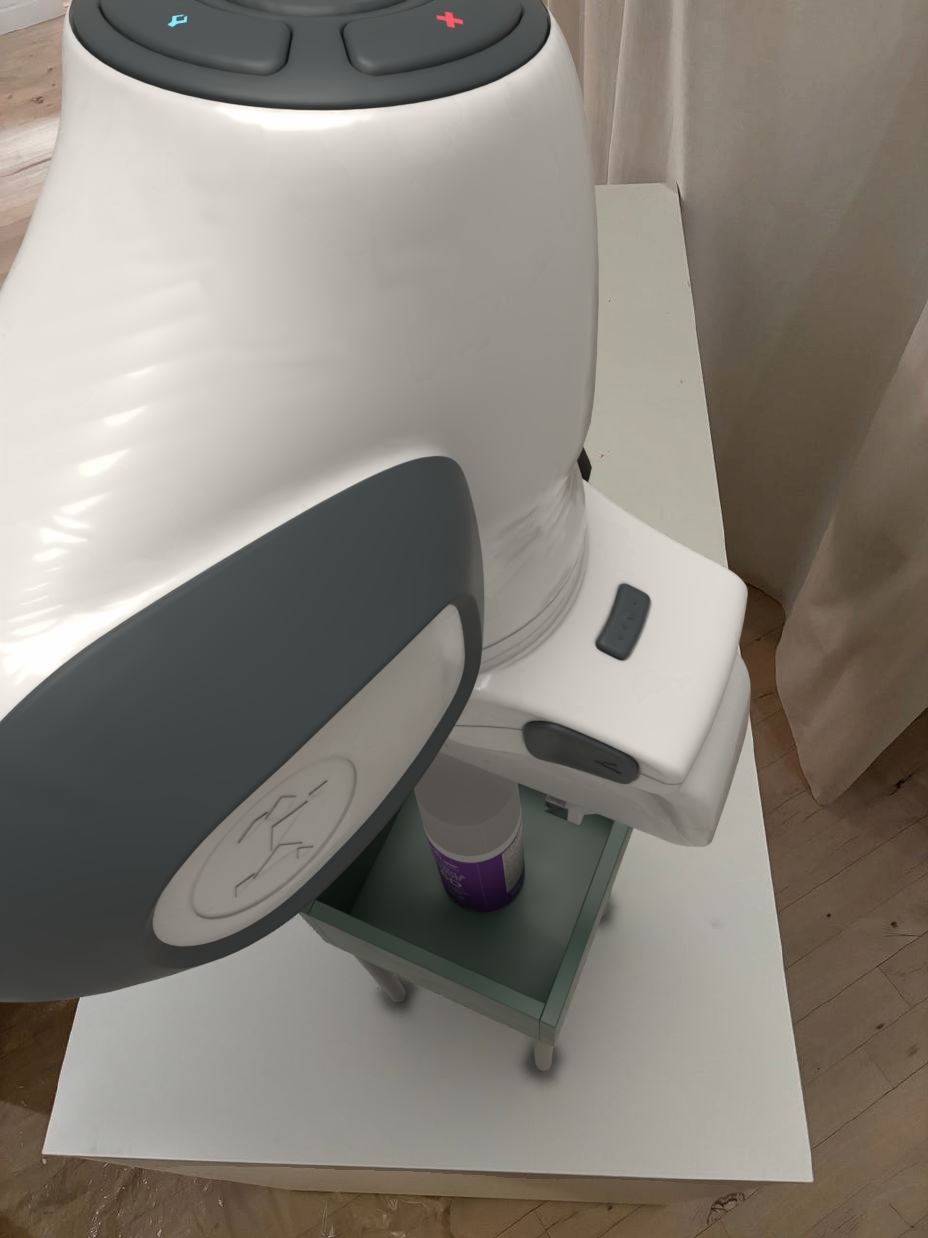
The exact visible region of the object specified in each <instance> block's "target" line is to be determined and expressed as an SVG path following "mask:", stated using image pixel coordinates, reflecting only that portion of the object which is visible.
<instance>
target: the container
mask: <svg viewBox="0 0 928 1238" xmlns="http://www.w3.org/2000/svg"><path fill="white" fill-rule="evenodd" d="M414 791H415V795H416V799H417V803H418V807H419V811H420V814H421V818H422V822H423V827H424V830H425V833H426V836H427V839H428V842H429V845H430V847H431V850H432V853H433V856H434V859H435V862H436V865H437V868H438V870H439V873H440V876H441V879H442V882H443V885H444V887H445V889H446V892H447V894H448V895H449V897H450V898H451V899H452V901H453V902H454V903H455V904H456V905H458V906H459V907H460V908H462V909H464V910H465V911H468V912H470V913H474V914H492V913H496V912H499V911H501V910H503V909H505V908H506V907H508V906H509V905H510V904H511V903H512V902H513V901H514V900H515V899H516V898H517V896H518V895H519V893H520V891H521V889H522V886H523V883H524V878H525V862H524V845H523V827H522V810H521V803H520V796H519V789H518V783H517V782H515V781H512V780H509V779H507V778H504V777H502V776H499V775H497V774H494V773H491V772H489V771H486V770H484V769H481V768H479V767H476V766H474V765H471V764H468V763H466V762H463V761H461V760H458V759H456V758H453V757H450V756H448V755H445V754H443V753H440V752H438V754H437V756H436V757H435V759H434V760H433V762H432V763H431V765H430V766H429V768H428V769H427V771H426V772H425V774H424V775H423V777H422V778H421V780H420V781H419V782H418V784H417V785H416V786H415V788H414Z"/></svg>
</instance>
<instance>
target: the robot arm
mask: <svg viewBox="0 0 928 1238" xmlns="http://www.w3.org/2000/svg"><path fill="white" fill-rule="evenodd" d="M62 25H63V26H62V33H61V65H62V69H61V103H60V117H59V121H58V128H57V134H56V138H55V144H54V147H53V152H52V155H51V158H50V162H49V164H48V168H47V171H46V173H45V176H44V180H43V183H42V185H41V189H40V191H39V195H38V197H37V200H36V203H35V206H34V209H33V211H32V214H31V217H30V220H29V224H28V226H27V229H26V231H25V234H24V237H23V239H22V242H21V244H20V247H19V250H18V252H17V254H16V256H15V258H14V261H13V262H12V265H11V267H10V269H9V271H8V273H7V275H6V277H5V279H4V281H3V283H2V285H1V287H0V1003H20V1004H21V1003H22V1004H23V1003H24V1004H25V1003H26V1004H27V1003H28V1004H30V1003H43V1002H56V1001H67V1000H75V999H79V998H85V997H91V996H97V995H102V994H106V993H107V994H108V993H112V992H115V991H119V990H123V989H127V988H130V987H131V988H132V987H135V986H138V985H142V984H146V983H150V982H153V981H158V980H160V979H165V978H167V977H171V976H174V975H177V974H180V973H183V972H185V971H189V970H192V969H194V968H198V967H202V966H203V965H204V966H205V965H206V964H209V963H213V962H215V961H218V960H221V959H224V958H226V957H228V956H231V955H233V954H235V953H237V952H238V953H239V952H240V951H241V950H244V949H246V948H248V947H250V946H252V945H254V944H256V943H257V942H259V941H261V940H262V939H264V938H266V937H267V936H269V935H270V934H272V933H274V932H275V931H276V930H278V929H280V928H282V926H284V925H285V924H287V923H288V922H290V921H291V920H292V919H293V918H295V917H296V916H297V915H298V914H299V913H300V912H301V911H302V910H303V909H304V908H305V907H307V906H308V905H309V904H310V903H311V902H312V901H313V900H315V899H316V898H317V897H318V896H319V895H320V894H321V893H322V892H323V891H324V890H325V889H326V888H327V887H328V886H329V885H330V884H332V883H333V882H334V881H335V880H336V879H337V878H338V876H339V875H340V874H341V873H342V872H343V871H344V870H345V869H346V868H347V867H348V866H349V865H350V864H351V863H352V862H353V861H354V860H355V859H356V858H357V857H358V856H359V855H360V854H361V853H362V851H363V850H364V849H365V848H366V847H367V846H368V845H369V844H370V843H371V842H372V841H373V839H374V838H375V837H376V836H377V835H378V834H379V832H380V831H381V830H382V829H383V828H384V827H385V825H386V824H387V823H388V822H389V821H390V819H391V818H392V817H393V816H394V814H395V813H396V812H397V810H398V809H399V808H400V807H401V805H402V804H403V803H404V802H405V800H406V799H407V797H408V796H409V795H410V793H411V792H412V791H413V789H414V788H415V786H416V785H417V784H418V782H419V781H420V780H421V778H422V777H423V775H424V774H425V772H426V771H427V769H428V768H429V766H430V765H431V763H432V762H433V760H434V759H435V757H436V756H437V754H438V752H440V753H443V754H445V755H448V756H450V757H453V758H456V759H458V760H461V761H463V762H466V763H468V764H471V765H474V766H476V767H479V768H481V769H484V770H486V771H489V772H491V773H494V774H497V775H499V776H502V777H504V778H507V779H509V780H512V781H515V782H517V783H520V784H522V785H525V786H527V787H530V788H532V789H535V790H538V791H540V792H543V793H545V794H547V796H546V798H545V806H546V807H545V812H548V813H550V814H552V815H555V816H557V817H560V818H562V819H564V820H567V821H569V822H572V823H574V824H577V825H580V823H581V821H582V819H583V816H584V815H587V814H599V815H602V816H604V817H607V818H609V819H612V820H614V821H617V822H620V823H622V824H625V825H627V826H630V827H632V828H634V829H635V830H638V831H640V832H643V833H645V834H647V835H650V836H652V837H655V838H658V839H660V840H663V841H665V842H667V843H669V844H673V845H675V846H680V847H681V846H682V847H686V848H687V847H688V848H689V847H690V848H705V847H708V846H709V845H710V844H712V842H713V840H714V838H715V836H716V835H715V834H716V832H717V829H718V826H719V823H720V820H721V818H722V815H723V811H724V809H725V806H726V802H727V799H728V797H729V793H730V792H731V787H732V784H733V781H734V777H735V775H736V770H737V767H738V764H739V761H740V757H741V753H742V751H743V746H744V743H745V740H746V734H747V731H748V725H749V719H750V710H751V697H752V696H751V690H752V689H751V679H750V674H749V670H748V668H747V665H746V663H745V661H744V659H743V658H742V656H741V655H740V653H739V652H738V649H739V647H740V641H741V637H742V632H743V626H744V622H745V617H746V611H747V603H748V596H749V591H748V587H747V585H746V583H745V582H744V580H743V579H742V578H741V577H739V576H738V574H736V573H735V572H734V571H732V570H731V569H729V568H727V567H726V566H723V565H722V564H720V563H718V562H716V561H714V560H712V559H710V558H709V557H707V556H705V555H703V554H702V553H699V552H697V551H695V550H693V549H692V548H690V547H688V546H687V545H684V544H683V543H681V542H679V541H677V540H675V539H673V538H672V537H670V536H668V535H667V534H665V533H663V532H661V531H660V530H658V529H656V528H655V527H653V526H651V525H649V524H648V523H646V522H644V521H643V520H641V519H640V518H638V517H637V516H635V515H633V514H632V513H630V512H629V511H628V510H626V509H624V508H623V507H622V506H621V505H619V504H618V503H615V502H614V501H613V500H611V499H610V498H609V497H607V496H606V495H605V494H604V493H602V492H601V491H600V490H598V489H597V488H596V487H595V486H593V485H592V484H590V483H589V482H587V481H585V480H584V479H582V476H581V472H580V469H579V466H578V463H577V459H578V457H579V455H580V453H581V451H582V449H583V447H584V445H585V443H586V439H587V436H588V432H589V429H590V427H591V423H592V417H593V409H594V403H595V402H594V401H595V393H596V392H595V391H596V377H597V363H598V362H597V361H598V334H599V309H600V308H599V306H600V303H599V302H600V301H599V299H600V297H599V295H600V290H599V289H600V286H599V285H600V281H599V277H600V276H599V275H600V274H599V273H600V271H599V270H600V269H599V268H600V266H599V264H600V262H599V234H598V233H599V229H598V228H599V227H598V213H597V211H598V210H597V197H596V196H597V195H596V185H595V184H596V182H595V174H594V173H595V172H594V171H595V170H594V163H593V154H592V147H591V146H592V145H591V138H590V131H589V123H588V118H587V114H586V107H585V103H584V97H583V92H582V88H581V83H580V80H579V77H578V73H577V69H576V65H575V63H574V59H573V56H572V54H571V51H570V48H569V44H568V42H567V40H566V37H565V35H564V33H563V31H562V28H561V27H560V25H559V23H558V22H557V20H556V18H555V17H554V15H553V14H552V12H551V10H550V9H549V7H548V6H547V5H546V4H545V3H544V1H543V0H71V1H70V3H69V5H68V7H67V8H66V12H65V16H64V18H63V23H62Z"/></svg>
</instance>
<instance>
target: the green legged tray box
mask: <svg viewBox="0 0 928 1238" xmlns="http://www.w3.org/2000/svg"><path fill="white" fill-rule="evenodd" d="M518 789H519V796H520V803H521V810H522V827H523V845H524V862H525V878H524V883H523V886H522V889H521V891H520V893H519V895H518V896H517V898H516V899H515V900H514V901H513V902H512V903H511V904H510V905H509V906H508V907H506V908H505V909H503V910H501V911H499V912H496V913H492V914H474V913H470V912H468V911H465V910H464V909H462V908H460V907H459V906H458V905H456V904H455V903H454V902H453V901H452V899H451V898H450V897H449V895H448V894H447V892H446V889H445V887H444V885H443V882H442V879H441V876H440V873H439V870H438V868H437V865H436V862H435V859H434V856H433V853H432V850H431V847H430V845H429V842H428V839H427V836H426V833H425V830H424V827H423V822H422V818H421V814H420V811H419V807H418V803H417V799H416V795H415V791H414V789H413V791H412V792H411V793H410V795H409V796H408V797H407V799H406V800H405V802H404V803H403V804H402V805H401V807H400V808H399V809H398V810H397V812H396V813H395V814H394V816H393V817H392V818H391V819H390V821H389V822H388V823H387V824H386V825H385V827H384V828H383V829H382V830H381V831H380V832H379V834H378V835H377V836H376V837H375V838H374V839H373V841H372V842H371V843H370V844H369V845H368V846H367V847H366V848H365V849H364V850H363V851H362V853H361V854H360V855H359V856H358V857H357V858H356V859H355V860H354V861H353V862H352V863H351V864H350V865H349V866H348V867H347V868H346V869H345V870H344V871H343V872H342V873H341V874H340V875H339V876H338V878H337V879H336V880H335V881H334V882H333V883H332V884H330V885H329V886H328V887H327V888H326V889H325V890H324V891H323V892H322V893H321V894H320V895H319V896H318V897H317V898H316V899H315V900H313V901H312V902H311V903H310V904H309V905H308V906H307V907H305V908H304V909H303V910H302V911H301V912H300V913H298V914H299V916H300V917H301V918H302V919H303V920H304V921H305V922H306V923H307V924H308V925H309V926H310V927H311V928H312V929H313V931H315V933H316V934H317V935H318V936H319V937H320V938H321V940H323V941H324V942H325V943H327V944H329V945H331V946H333V947H335V948H337V949H340V950H342V951H344V952H346V953H348V954H351V955H352V956H354V958H355V959H356V960H357V961H358V962H359V963H360V964H361V966H362V967H363V969H365V970H366V972H367V973H368V974H369V975H370V976H371V977H372V978H373V979H374V981H375V982H376V984H378V985H379V987H380V988H381V989H382V990H383V992H385V993H386V995H387V997H389V998H390V1000H392V1001H393V1002H394V1003H401V1002H403V1001H404V1000H405V998H406V996H407V990H406V989H405V987H404V985H403V984H402V983H401V981H400V980H399V979H398V978H397V976H398V977H400V978H403V979H405V980H407V981H409V982H411V983H413V984H414V985H415V984H416V985H418V986H420V987H422V988H424V989H426V990H428V991H431V992H433V993H435V994H437V995H439V996H441V997H443V998H445V999H448V1000H450V1001H452V1002H454V1003H456V1004H458V1005H461V1006H463V1007H465V1008H466V1009H469V1010H471V1011H474V1012H476V1013H478V1014H480V1015H481V1016H484V1017H487V1018H489V1019H491V1020H493V1021H495V1022H497V1023H499V1024H502V1025H504V1026H506V1027H508V1028H510V1029H513V1030H515V1031H517V1032H519V1033H521V1034H524V1035H525V1036H527V1037H530V1038H532V1039H533V1040H532V1042H533V1043H532V1044H533V1055H534V1056H533V1057H534V1065H535V1068H537V1070H539V1072H540V1071H541V1072H546V1071H549V1070H550V1068H551V1067H552V1064H553V1063H552V1062H553V1053H554V1052H553V1051H554V1048H555V1047H556V1044H557V1042H558V1039H559V1037H560V1034H561V1030H562V1028H563V1025H564V1022H565V1019H566V1017H567V1014H568V1011H569V1008H570V1005H571V1003H572V1000H573V998H574V994H575V991H576V989H577V985H578V984H579V981H580V978H581V975H582V973H583V969H584V967H585V964H586V961H587V959H588V956H589V953H590V951H591V947H592V945H593V942H594V939H595V937H596V934H597V931H598V928H599V925H600V922H601V919H602V918H603V917H604V916H606V914H607V911H608V907H609V904H610V900H611V895H612V892H613V891H612V890H613V886H614V883H615V882H616V879H617V875H618V873H619V871H620V867H621V865H622V862H623V859H624V856H625V854H626V850H627V848H628V845H629V843H630V839H631V837H632V834H633V831H634V829H635V828H632V827H630V826H627V825H625V824H622V823H620V822H617V821H614V820H612V819H609V818H607V817H604V816H602V815H599V814H587V815H584V816H583V819H582V821H581V823H580V825H577V824H574V823H572V822H569V821H567V820H564V819H562V818H560V817H557V816H555V815H552V814H550V813H548V812H545V807H546V806H545V798H546V796H547V794H545V793H543V792H540V791H538V790H535V789H532V788H530V787H527V786H525V785H522V784H520V783H518Z"/></svg>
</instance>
